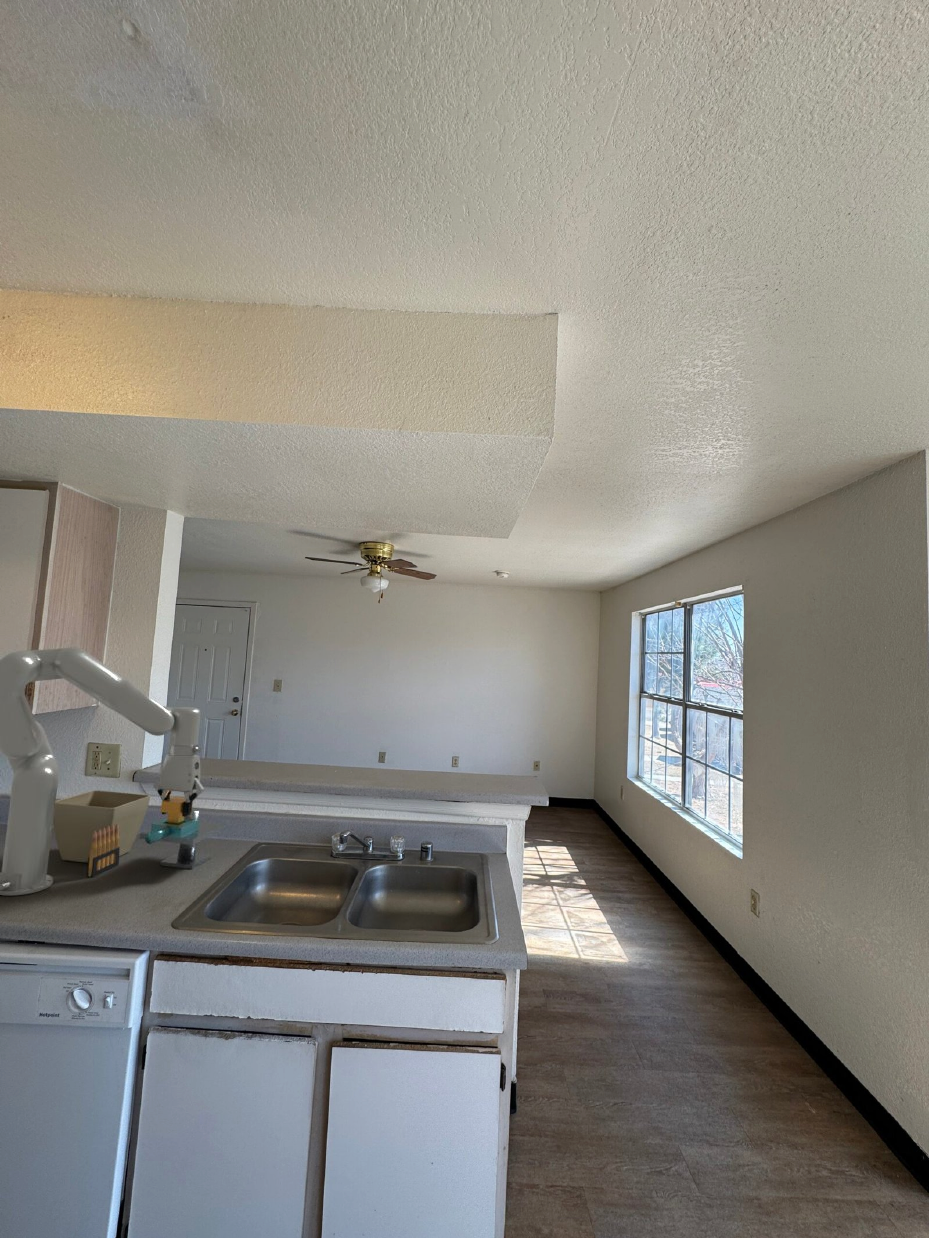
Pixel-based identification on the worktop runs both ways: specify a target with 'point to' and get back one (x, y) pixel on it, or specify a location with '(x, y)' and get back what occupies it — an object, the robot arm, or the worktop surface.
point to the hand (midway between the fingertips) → (176, 813)
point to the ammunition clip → (103, 851)
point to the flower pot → (96, 820)
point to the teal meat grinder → (183, 838)
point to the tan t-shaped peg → (174, 809)
